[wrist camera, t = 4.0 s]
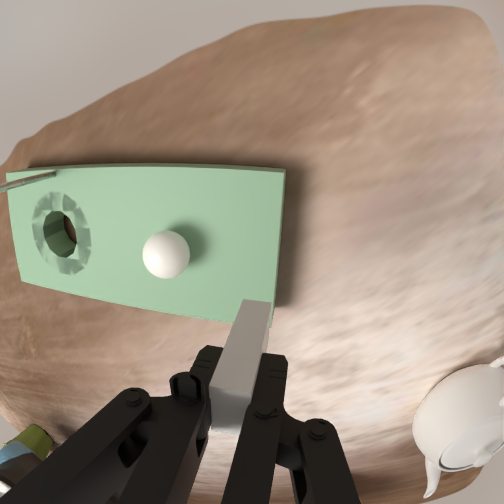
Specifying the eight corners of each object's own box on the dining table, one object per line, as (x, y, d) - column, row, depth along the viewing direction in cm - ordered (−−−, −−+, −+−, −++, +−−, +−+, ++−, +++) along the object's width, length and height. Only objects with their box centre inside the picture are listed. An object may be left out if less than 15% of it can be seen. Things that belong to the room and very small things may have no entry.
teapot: (454, 318, 30) (497, 388, 19) (533, 331, 28) (576, 386, 17) (374, 450, 39) (379, 515, 28) (451, 450, 37) (466, 505, 26)
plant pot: (43, 421, 53) (19, 452, 42) (68, 453, 56) (48, 483, 46) (17, 412, 55) (-6, 438, 45) (40, 442, 59) (21, 469, 48)
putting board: (39, 270, 37) (21, 281, 33) (27, 168, 32) (6, 173, 28) (274, 307, 33) (270, 327, 29) (286, 168, 28) (284, 172, 24)
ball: (155, 265, 29) (136, 283, 25) (153, 223, 27) (132, 236, 24) (196, 270, 28) (181, 290, 24) (196, 226, 27) (179, 241, 23)
